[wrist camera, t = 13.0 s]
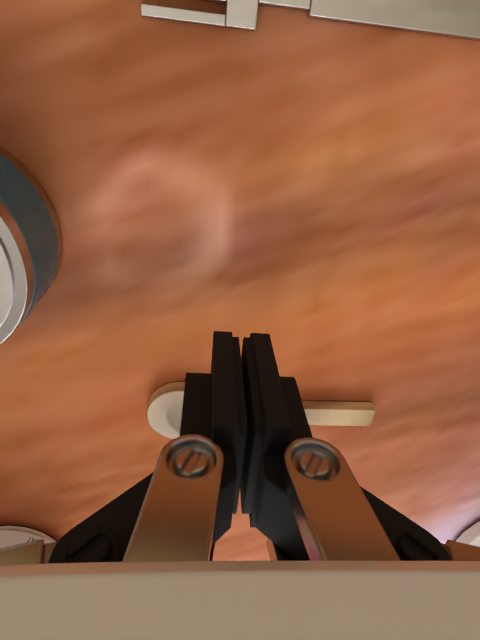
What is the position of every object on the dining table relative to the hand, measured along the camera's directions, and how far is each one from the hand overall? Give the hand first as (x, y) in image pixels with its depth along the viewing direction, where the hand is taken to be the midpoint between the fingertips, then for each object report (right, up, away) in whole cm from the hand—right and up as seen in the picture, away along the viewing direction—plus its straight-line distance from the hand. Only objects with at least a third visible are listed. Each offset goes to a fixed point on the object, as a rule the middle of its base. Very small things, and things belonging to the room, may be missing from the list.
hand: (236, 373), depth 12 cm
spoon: (+1, -4, +14) cm, 14 cm away
